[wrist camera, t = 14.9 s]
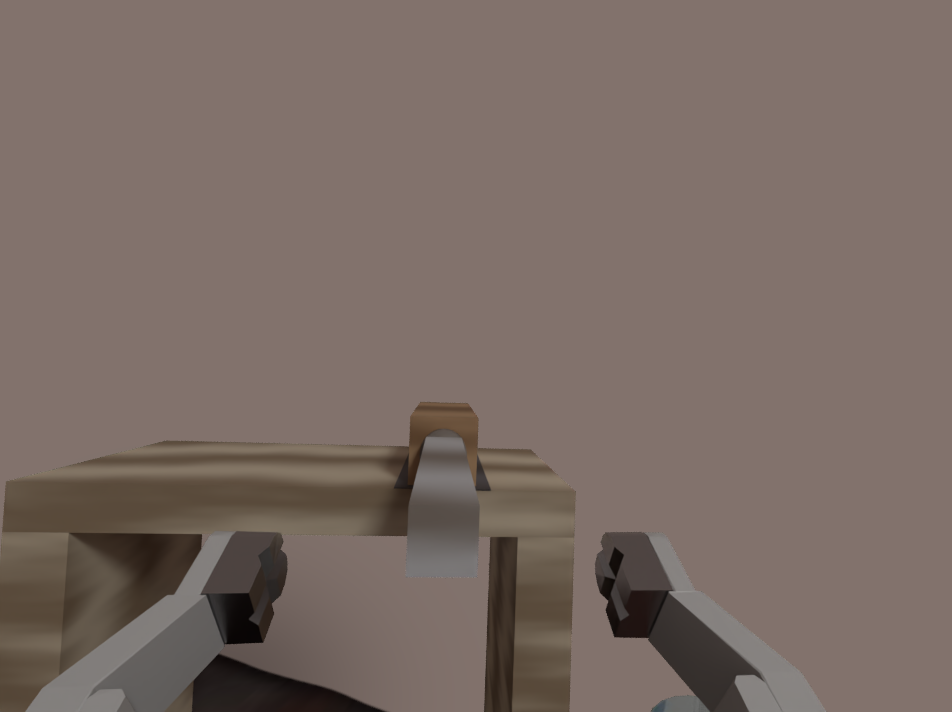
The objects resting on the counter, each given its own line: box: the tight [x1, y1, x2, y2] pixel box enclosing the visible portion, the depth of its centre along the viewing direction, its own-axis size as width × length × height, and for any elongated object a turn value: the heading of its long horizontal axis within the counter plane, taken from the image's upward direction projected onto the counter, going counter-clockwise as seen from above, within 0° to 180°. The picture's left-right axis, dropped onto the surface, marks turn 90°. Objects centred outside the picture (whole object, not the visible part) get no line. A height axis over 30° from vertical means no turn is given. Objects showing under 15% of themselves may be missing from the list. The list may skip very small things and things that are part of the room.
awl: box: [406, 402, 480, 577], centre depth 22 cm, size 22×4×4 cm, turn 4°
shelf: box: [0, 441, 576, 712], centre depth 27 cm, size 12×28×30 cm, turn 94°
